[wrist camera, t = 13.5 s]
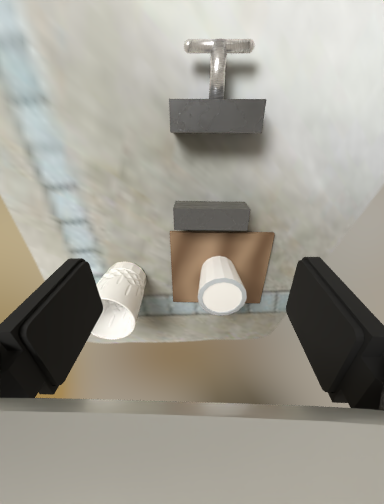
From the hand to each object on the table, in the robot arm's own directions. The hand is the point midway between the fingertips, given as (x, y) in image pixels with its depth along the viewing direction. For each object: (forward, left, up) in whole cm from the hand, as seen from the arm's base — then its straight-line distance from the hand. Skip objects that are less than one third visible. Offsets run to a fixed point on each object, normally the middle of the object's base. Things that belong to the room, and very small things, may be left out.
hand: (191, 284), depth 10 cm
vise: (-2, -5, -22) cm, 23 cm away
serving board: (-4, +14, -22) cm, 27 cm away
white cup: (+12, +16, -23) cm, 30 cm away
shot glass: (-4, +14, -22) cm, 26 cm away
